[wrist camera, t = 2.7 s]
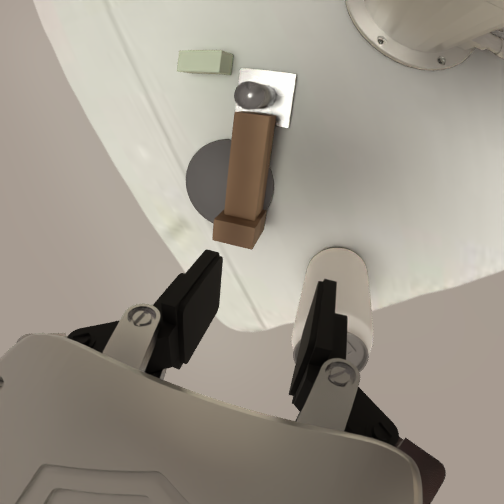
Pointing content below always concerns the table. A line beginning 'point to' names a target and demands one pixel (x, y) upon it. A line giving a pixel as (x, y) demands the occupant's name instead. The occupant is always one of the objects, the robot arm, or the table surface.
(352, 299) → the can
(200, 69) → the block
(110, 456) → the robot arm
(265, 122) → the bar
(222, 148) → the pad
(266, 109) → the ball knob on plate
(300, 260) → the table surface
